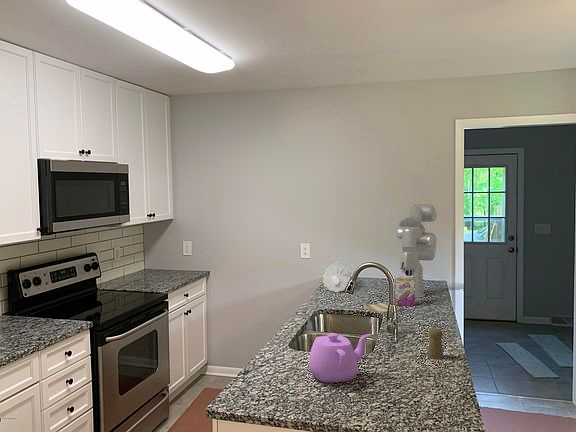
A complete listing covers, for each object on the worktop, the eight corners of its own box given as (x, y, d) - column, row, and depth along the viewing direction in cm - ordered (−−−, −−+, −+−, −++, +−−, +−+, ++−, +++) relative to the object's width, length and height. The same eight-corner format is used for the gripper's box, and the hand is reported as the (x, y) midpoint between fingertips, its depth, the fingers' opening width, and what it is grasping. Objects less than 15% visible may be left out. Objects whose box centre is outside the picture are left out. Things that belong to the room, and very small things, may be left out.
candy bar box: (394, 305, 270) (395, 278, 267) (393, 302, 275) (394, 275, 271) (414, 306, 269) (415, 278, 265) (413, 302, 273) (414, 275, 270)
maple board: (382, 304, 273) (382, 302, 273) (403, 310, 260) (403, 307, 260) (363, 308, 264) (363, 306, 264) (383, 314, 252) (383, 312, 252)
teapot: (320, 392, 156) (320, 347, 156) (304, 369, 177) (303, 328, 176) (385, 385, 162) (385, 341, 161) (362, 363, 182) (362, 324, 181)
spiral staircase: (329, 299, 304) (333, 289, 328) (354, 288, 300) (356, 278, 324) (316, 273, 304) (321, 265, 328) (341, 262, 300) (344, 254, 324)
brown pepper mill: (443, 355, 190) (444, 327, 190) (443, 360, 185) (443, 332, 184) (427, 353, 192) (428, 326, 192) (427, 358, 187) (427, 330, 186)
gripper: (412, 248, 279) (412, 279, 280) (395, 250, 271) (394, 282, 272) (423, 249, 273) (422, 281, 274) (405, 251, 265) (405, 284, 266)
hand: (408, 281), depth 273 cm, fingers closed
